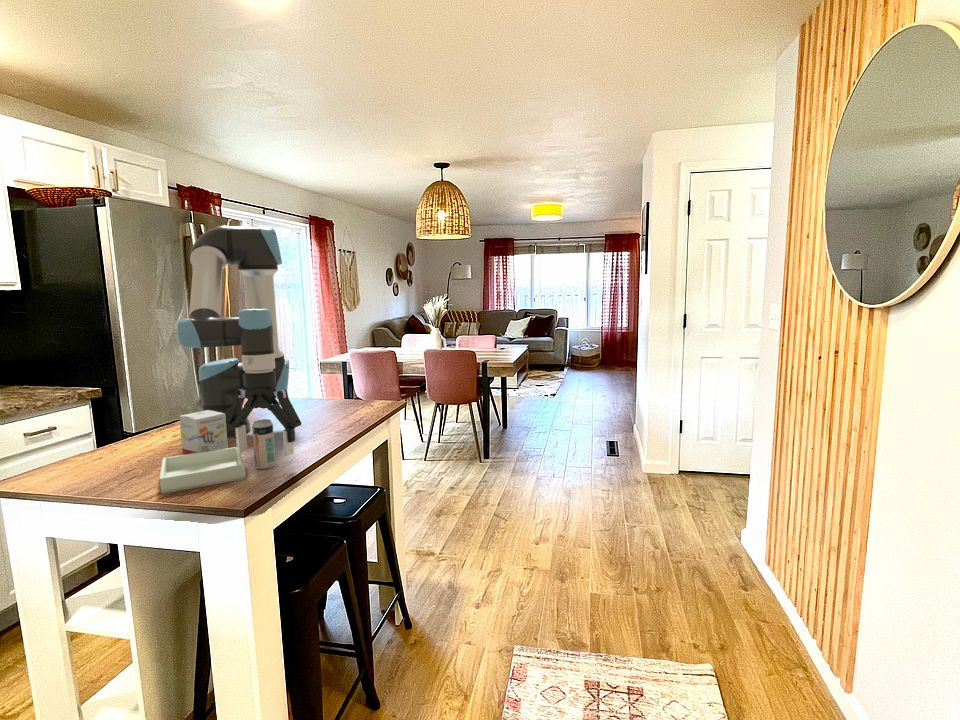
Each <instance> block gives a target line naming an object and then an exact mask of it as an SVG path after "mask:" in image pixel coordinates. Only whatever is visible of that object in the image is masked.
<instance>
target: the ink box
mask: <svg viewBox="0 0 960 720" xmlns="http://www.w3.org/2000/svg"><path fill="white" fill-rule="evenodd" d="M179 427H180V428H179V430H180V436H181V437H180V440H181V441H180V442H181V450H182V455H186V454H193V453H199V452H206V451H213V450H219V449H226V448H229V445H228V437H227V429H226V416H225V413H221V412H216V411H211V410H206V411H202V410H201V411H197V412H196V411H195V412H191V413H187V414H186V413H185V414H182V415H181V414H180V415H179Z"/></svg>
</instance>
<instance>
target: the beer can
mask: <svg viewBox="0 0 960 720" xmlns="http://www.w3.org/2000/svg"><path fill="white" fill-rule="evenodd" d="M251 430H252V439H253V451H254V463H255V467H256V469H259V470H270V469H272V468H273V467H274V466H276V464H277V463H276V462H277V461H276V449H275V435H274V424H273V422H272V420H271V419H268V418H267V419H257V420H255V421H253V424H252V426H251Z"/></svg>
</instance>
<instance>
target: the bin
mask: <svg viewBox="0 0 960 720" xmlns="http://www.w3.org/2000/svg"><path fill="white" fill-rule="evenodd" d="M246 479H247V475H246V466H245V462H244V458H243V456H242V453H237V446H234V447H228V448H226V449H219V450H213V451H206V452H199V453H193V454H186V455H183V454H181V455H175V456H174V455H173V456H167V457H162V462H161V467H160V473H159V484H160V485H159V487H160V494H161V495H163V494H169V493H175V492H179V491H180V492H181V491H187V490H193V489H197V488H202V487H203V488H204V487H208V486H215V485H219V484H225V483H230V482H237V481H243V480H246Z"/></svg>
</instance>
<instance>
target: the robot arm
mask: <svg viewBox="0 0 960 720" xmlns="http://www.w3.org/2000/svg"><path fill="white" fill-rule="evenodd" d="M282 260H283V259H282V255H281V249H280V244H279V241H278V236H277V232H276V230H275V229H274V228H273V227H270V226H269V227H268V226H261V225H258V226H256V225H254V226H253V225H252V226H251V225H247V226H246V225H220V226H218V225H217V226H215V227H212V228H210V229H208V230H207V231H205V232H203V233H202V234H201V235H200V236H198V238H197V239H196V241H195V242H194V243H193V245H192V247H191V249H190V256H189V261H190V264H191V265H192V278H191V287H190V289H191V290H190V299H189V310H188V311H189V312H188V317H186V318H180V319H179V321H178V322H177V326H176V327H177V328H176V329H177V338H178V343H179V345H180V346H181V347H182V348H183V349H184V348H185V349H202V348H216V347H217V348H218V347H220V348H221V347H234V346H235V347H237V346H240V347H241V362H240V360H239V358H237V357H233V358H223V359H220V360H219V359H218V360H214V361H210V362H207V363H204V364H202V365H201V366H199V369H198V382H199V389H200V390H199V392H200V402H201V411H206V410H211V411H216V412H221V413H225V416H226V429H227V438H230V437H233V438H234V439H235V441H236V447H237V453H241V454H242V453H244V452H246V451H248V443H247V442H248V441H247V432H249V431H250V430H251V423H250V420H249V418H248V417H249V416H250V414H251V413H252V412H253V410H254V409H267V410H268V411H270V412H271V413H272V415H274V417H275V418H276V419H277V421H278V422H279V423H280V424H281V425H282V427H283V428H284V429H283V430H282V438H283V439H282V440H283V454H284V455H283V456H284V457H289V456H291V455H294V453H295V451H294V442H295V441H296V431H295V429H296V428H298V427H300V426H302V422H301V420H300V417H299V415H298V414H297V412H296V410H295V407H294V406H293V404H292V401H291V400H290V399H289V394H288V388H289V376H290V375H289V373H290V360H289V359H287V358H285V354H284V353H283V352H282V351H281V350H280V349H279V348H280V347H279V337H278V336H279V335H278V322H277V308H276V307H277V306H276V295H275V282H274V275H276V273H277V272H278V270H279V267H278V266H280V265H283V261H282ZM227 265H231V266H233V265H236V266H237V271H238V272H239V273H240V274H241V275H242V276H243V280H244V293H245V304H246V309H244V308H243V309H240V310H239V311H238V316H228V317H227V316H222V305H223V304H222V303H223V302H222V300H223V272H224V271H223V270H224V269H225V268H226V267H227ZM246 399H247V400H246ZM245 400H246V402H245ZM244 403H245V404H244Z"/></svg>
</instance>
